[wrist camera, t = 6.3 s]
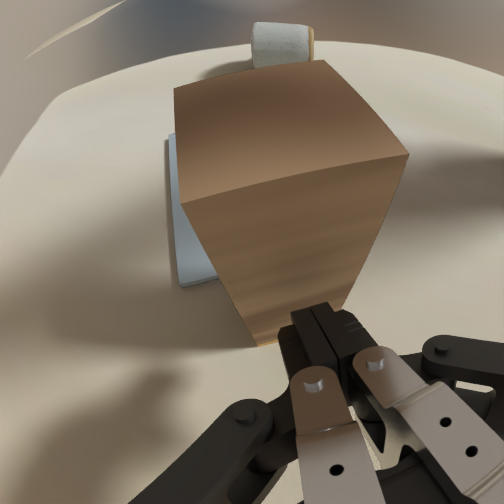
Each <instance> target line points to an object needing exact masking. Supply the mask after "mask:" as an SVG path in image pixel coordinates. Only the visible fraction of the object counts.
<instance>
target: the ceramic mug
mask: <svg viewBox="0 0 504 504" xmlns="http://www.w3.org/2000/svg"><path fill="white" fill-rule="evenodd" d="M251 37H252V40H251V51H252V61H253V67H254V69H255V68H261V67H267V66H274V65H280V64H288V63H296V62H305V61H313V59H314V31H313V29H312V28H311V27H308V26H304V25H298V24H283V23H267V22H266V23H265V22H256V23H255V24H254V26H253V29H252V36H251Z"/></svg>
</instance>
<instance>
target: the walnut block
mask: <svg viewBox="0 0 504 504" xmlns="http://www.w3.org/2000/svg"><path fill="white" fill-rule="evenodd" d="M174 116H175V138H176V155H177V170H178V183H179V195H180V204H181V206H182V208H183V210H184V212H185V214H186V216H187V218H188V220H189V222H190V224H191V226H192V228H193V230H194V232H195V233H196V235H197V237H198V239H199V241H200V243H201V245H202V247H203V249H204V250H205V252H206V254H207V256H208V258H209V260H210V262H211V264H212V265H213V267H214V269H215V271H216V273H217V275H218V276H219V278H220V280H221V282H222V284H223V286H224V287H225V289H226V291H227V293H228V295H229V296H230V298H231V300H232V302H233V304H234V305H235V307H236V309H237V311H238V313H239V314H240V316H241V318H242V320H243V321H244V323H245V325H246V327H247V328H248V330H249V332H250V334H251V335H252V337H253V339H254V340H255V342H256V344H257V346H258V347H259V346H263V345H267V344H271V343H275V342H279V341H278V338H277V335H278V333H279V330H280V328H281V327H284V326H288V325H292V320H291V316H290V312H292V311H296V310H299V309H303V308H306V307H308V308H309V306H313V305H316V304H320V303H323V302H326V301H327V302H328V303H329V304H330V306H331V307H332V309H333V310H334V311H335V312H336V311H339V310H341V308H342V306H343V304H344V302H345V300H346V298H347V296H348V294H349V293H350V291H351V289H352V287H353V285H354V283H355V281H356V279H357V277H358V275H359V273H360V271H361V269H362V267H363V264H364V262H365V260H366V258H367V256H368V254H369V252H370V250H371V247H372V245H373V243H374V241H375V239H376V236H377V234H378V232H379V230H380V227H381V225H382V223H383V220H384V218H385V216H386V213H387V211H388V209H389V206H390V204H391V201H392V199H393V196H394V194H395V191H396V189H397V186H398V184H399V181H400V178H401V176H402V173H403V170H404V167H405V165H406V162H407V159H408V156H409V153H408V151H407V150H406V149H405V147H404V146H403V145H402V144H401V142H400V141H399V140H398V139H397V137H396V136H395V135H394V134H393V132H392V131H391V130H390V129H389V127H388V126H387V125H386V124H385V123H384V122H383V120H382V119H381V118H380V117H379V116H378V115H377V113H376V112H375V111H374V110H373V109H372V108H371V107H370V106H369V105H368V103H367V102H366V101H365V100H364V99H363V98H362V97H361V96H360V95H359V94H358V93H357V92H356V91H355V90H354V89H353V88H352V87H351V86H350V85H349V84H348V83H347V82H346V81H345V80H344V79H343V78H342V77H341V76H340V75H339V74H338V73H337V72H336V71H335V70H334V69H333V68H332V67H331V66H330V65H329V64H328V63H327V62H326V61H324V60H315V61H305V62H296V63H288V64H280V65H274V66H267V67H261V68H255V69H250V70H245V71H240V72H235V73H230V74H226V75H222V76H217V77H213V78H209V79H205V80H201V81H198V82H194V83H190V84H187V85H183V86H180V87H177V88H174Z"/></svg>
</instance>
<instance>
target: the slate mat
mask: <svg viewBox="0 0 504 504" xmlns="http://www.w3.org/2000/svg"><path fill="white" fill-rule="evenodd" d="M169 163H170V184H171V201H172V215H173V228H174V239H175V250H176V260H177V269H178V278H179V285H180V286H181V287H182V288H183V287H187V286H191V285H195V284H200V283H204V282H208V281H212V280H216V279H220V278H219V276H218V275H217V273H216V271H215V269H214V267H213V265H212V264H211V262H210V260H209V258H208V256H207V254H206V252H205V250H204V249H203V247H202V245H201V243H200V241H199V239H198V237H197V235H196V233H195V232H194V230H193V228H192V226H191V224H190V222H189V220H188V218H187V216H186V214H185V212H184V210H183V208H182V206H181V204H180V195H179V183H178V170H177V155H176V138H175V133H173V134H170V135H169Z"/></svg>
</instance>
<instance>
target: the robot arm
mask: <svg viewBox="0 0 504 504" xmlns="http://www.w3.org/2000/svg"><path fill="white" fill-rule="evenodd" d="M290 316H291V320H292V325H288V326H284V327H281V328H280V330H279V333H278V335H277V338H278V341H279V345H280V349H281V353H282V357H283V361H284V365H285V369H286V372H287V376H288V379H289V385H288V387H287V389H286V391H285V392H284V393H283V394H282V395H281V396H279V397H278V398H276V399H275V400H273V401H271V402H269V403H267V404H266V403H265V402H263V401H261V400H258V399H244V400H240V401H237V402H235V403H233V404H232V405H230V406H229V407H228V408H227V409H226V410H225V411H224V412H223V413H222V414H221V415H220V416H219V417H218V418H217V419H216V420H215V421H214V422H213V423H212V424H211V425H210V427H209V428H208V429H207V430H206V431H205V432H204V433H203V434H202V435H201V436H200V437H199V438H198V439H197V440H196V441H195V442H194V443H193V444H192V445H191V446H190V447H189V448H188V449H187V450H186V451H185V452H184V453H183V454H182V455H181V456H180V457H179V458H178V459H177V460H176V461H174V462H173V463H172V464H171V465H170V466H169V467H168V468H167V469H166V470H165V471H164V472H163V473H162V474H161V475H160V476H158V477H157V478H156V479H155V480H154V481H153V482H152V483H151V484H150V485H149V486H147V487H146V488H145V489H144V490H143V491H142V492H141V493H139V494H138V495H137V496H136V497H135V498H134V499H132V500H131V501H130V502H129V503H128V504H261V503H262V501H263V500H264V499H265V497H266V496H267V495H268V494H269V492H270V491H271V489H272V488H273V487H274V485H275V484H276V483H277V481H278V480H279V478H280V477H281V476H282V474H283V473H284V471H285V470H286V468H287V465H288V463H290V462H292V461H294V460H296V459H298V460H299V467H300V474H301V482H302V489H303V497H304V500H303V501H301V502H299V503H298V504H504V343H499V342H491V341H484V340H477V339H470V338H463V337H457V336H451V335H438V336H434V337H432V338H430V339H428V340H427V341H426V342H425V343H424V345H423V347H422V352H420V353H415V354H409V355H397V354H396V353H395V352H394V351H393V350H392V349H390V348H387V347H383V346H378V344H377V343H376V342H375V341H374V339H373V338H372V337H371V336H370V334H369V333H368V332H367V331H366V329H365V328H364V327H363V326H362V324H361V323H360V322H358V320H357V318H356V317H355V316H354V315H353V314H352V313H350V312H348V311H346V310H344V309H342V310H339V311H336V312H335V311H334V310H333V309H332V307H331V306H330V304H329V303H328V302H327V301H326V302H323V303H320V304H316V305H313V306H309V308H308V307H306V308H303V309H299V310H296V311H292V312H290ZM457 381H462V382H468V383H473V384H479V385H485V386H490V387H492V388H493V390H492V391H490V392H487V393H484V392H478V391H473V390H467V389H462V388H457V387H456V383H457ZM349 406H353V408H354V410H355V420H356V421H353V419H352V417H351V414H350V411H349V408H348V407H349ZM362 433H363V435H364V437H365V438H366V440H367V442H368V443H369V445H370V446H371V448H372V450H373V451H374V453H375V455H376V456H377V458H378V460H379V463H380V466H381V470H377V471H375V469H374V466H373V463H372V460H371V458H370V455H369V452H368V449H367V446H366V443H365V440H364V437H363V435H362Z"/></svg>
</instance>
